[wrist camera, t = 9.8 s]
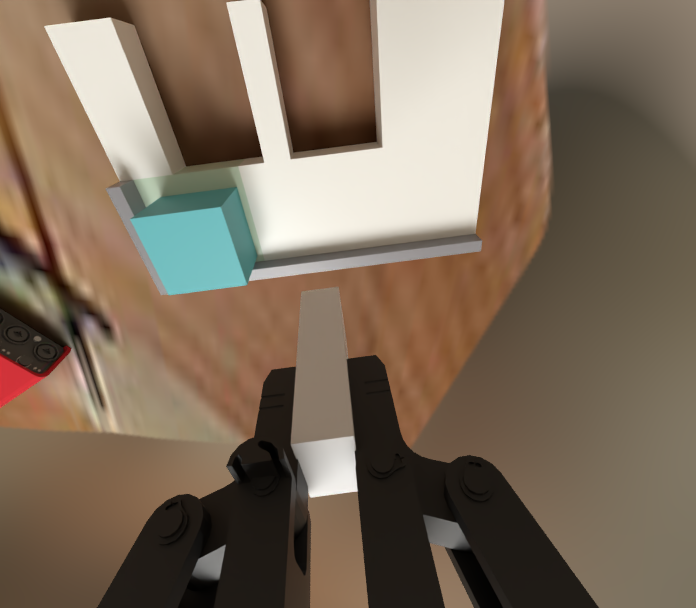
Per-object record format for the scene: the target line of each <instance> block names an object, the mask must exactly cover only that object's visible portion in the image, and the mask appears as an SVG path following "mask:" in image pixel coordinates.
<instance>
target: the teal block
mask: <svg viewBox="0 0 696 608" xmlns="http://www.w3.org/2000/svg"><path fill="white" fill-rule="evenodd" d="M130 220H131V222H132V224H133V226H134V228H135V230H136V232H137V234H138V236H139V238H140V240H141V242H142V244H143V246H144V248H145V250H146V252H147V254H148V256H149V258H150V260H151V261H152V263H153V265H154V267H155V269H156V271H157V273H158V275H159V277H160V279H161V281H162V283H163V285H164V287H165V289H166V291H167V293H168V295H175V294H183V293H190V292H198V291H206V290H213V289H221V288H228V287H236V286H244V285H247V284H248V281H249V278H250V275H251V273H252V270H253V267H254V264H255V262H256V259H257V253H256V249H255V246H254V243H253V239H252V236H251V232H250V229H249V226H248V222H247V219H246V216H245V212H244V209H243V205H242V202H241V199H240V195H239V192H238V189H237V187H232V188H225V189H217V190H210V191H202V192H195V193H187V194H179V195H172V196H164V197H160V198H159V199H157V200H156V201H155V202H153V203H152V204H150V205H149V206H147V207H146V208H145V209H143V210H142V211H140V212H139V213H138V214H136V215H135V216H133V217H132V218H131V219H130Z"/></svg>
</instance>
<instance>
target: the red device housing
mask: <svg viewBox="0 0 696 608" xmlns="http://www.w3.org/2000/svg"><path fill="white" fill-rule="evenodd" d="M70 351H71V348H70V347H68V346H65V347H61V346H59V345H58V344H56V343H55V342H53V341H51V340H50V339H48V338H46V337H45V336H43V335H42V334H40V333H38V332H37V331H35V330H34V329H32V328H30V327H29V326H27V325H26V324H24V323H22V322H21V321H19V320H18V319H16V318H14V317H13V316H11V315H10V314H8V313H6V312H5V311H3V310H2V309H0V408H1V407H2V406H4V405H5V404H7V403H8V402H10V401H11V400H12V399H14V398H15V397H17V396H18V395H20V394H21V393H23V392H24V391H26V390H27V389H29V388H30V387H32V386H33V385H34V384H36V383H37V382H39V381H40V380H42V379H43V378H45V377H46V376H48V375H49V374H50V373H51V372H52V371H53V370H54V369H55V368H56V367H57V365H58V364H59V363H60V362H61V361H62V360H63V359H64V358H65V357H66V356H67V355H68V354H69V353H70Z"/></svg>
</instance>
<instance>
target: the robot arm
mask: <svg viewBox="0 0 696 608" xmlns="http://www.w3.org/2000/svg"><path fill="white" fill-rule="evenodd" d="M261 397H262V399H261V401H260V407H259V409H260V411H259V413H258V418H257V424H256V430H255V436H254V438H251V439H248V440H247V441H245V442H244V443H242V444H241V445H239V446H238V448H237V449H236V450H235V451H234V452H233V453H232V455H231V456H230V459H229V462H228V464H227V466H226V467H227V468H228V470H229V471H230V473H231V475H232V476H233V478H234V479H235V480H234V481H233V482H232V483H231V484H229V485H227V486H226V487H224V488H222V489H220V490H217V491H215V492H213V493H211V494H209V495H207V496H205V497H203V498H201V499H198V498H197V497H195V496H192V495H190V494H184V495H177V496H175V497H173V498H171V499H169V500H167V501H165V502H164V503H163V504H162V505H161V506H160V507H158V508H157V509H156V510H155V511H154V513H153V514H152V516H151V517H150V518H149V519H148V521H147V522H146V524H145V526H144V527H143V529H142V531H141V533H140V534H139V536H138V538H137V540H136V541H135V543H134V545H133V547H132V548H131V550H130V552H129V553H128V555H127V557H126V559H125V560H124V562H123V564H122V566H121V567H120V569H119V571H118V572H117V574H116V576H115V578H114V579H113V581H112V583H111V585H110V587H109V588H108V590H107V592H106V593H105V595H104V597H103V598H102V600H101V602H100V604H99V605H98V607H97V608H310V550H311V548H310V547H311V521H310V514H309V511H308V492H309V495H310V497H317V496H326V495H333V494H341V493H348V492H356V491H358V500H359V511H360V521H361V532H362V542H363V553H364V563H365V574H366V583H367V593H368V605H369V608H445V606H444V602H443V597H442V593H441V589H440V585H439V581H438V577H437V572H436V568H435V564H434V560H433V556H432V552H431V547H430V543H432V544H436V545H440V546H444V547H445V549H446V551H447V553H448V555H449V557H450V559H451V561H452V563H453V565H454V567H455V569H456V571H457V573H458V575H459V578H460V580H461V582H462V584H463V586H464V588H465V590H466V592H467V594H468V596H469V598H470V600H471V602H472V604H473V607H474V608H599V607H598V606H597V605H596V603H595V602H594V600H593V599H592V598H591V596H590V595H589V593H588V592H587V591H586V589H585V588H584V587H583V585H582V584H581V582H580V581H579V580H578V578H577V577H576V576H575V574H574V573H573V572H572V570H571V569H570V567H569V566H568V564H567V563H566V562H565V560H564V559H563V558H562V556H561V555H560V553H559V552H558V551H557V549H556V548H555V547H554V545H553V544H552V542H551V541H550V540H549V538H548V537H547V536H546V534H545V533H544V531H543V530H542V529H541V527H540V526H539V525H538V523H537V522H536V521H535V519H534V518H533V516H532V515H531V513H530V512H529V511H528V509H527V508H526V507H525V505H524V504H523V502H522V501H521V500H520V498H519V497H518V496H517V494H516V493H515V491H514V490H513V489H512V487H511V486H510V485H509V483H508V482H507V481H506V479H505V478H504V476H503V475H502V473H501V472H500V471H499V470H498V469H497V468H496V467H495V466H494V465H493V464H491V463H490V462H488V461H486V460H484V459H483V458H481V457H476V456H471V455H468V456H462V457H458V458H457V459H455V460H454V461H452V462H451V463H446V462H441V461H436V460H431V459H428V458H425V457H421V456H419V455H418V454H416V453H414V452H413V451H412V450H411V449H410V448H409V447H408V446H407V445H406V443H405V442H404V440H403V438H402V435H401V433H400V428H399V424H398V420H397V416H396V411H395V407H394V403H393V398H392V394H391V390H390V386H389V381H388V377H387V373H386V369H385V365H384V364H383V363H382V362H381V360H380V359H379V358H378V357H377V356H376V355H373V356H365V357H358V358H350V359H348V352H347V343H346V335H345V328H344V321H343V314H342V307H341V301H340V294H339V287H334V288H326V289H318V290H311V291H303V292H301V304H300V319H299V333H298V347H297V361H296V367H289V368H281V369H274V370H271V372H270V373H269V375H268V377H267V378H266V380H265V381H264V384H263V389H262V395H261Z"/></svg>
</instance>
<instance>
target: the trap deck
mask: <svg viewBox="0 0 696 608" xmlns="http://www.w3.org/2000/svg"><path fill="white" fill-rule="evenodd" d="M227 7H228V11H229V15H230V20H231V24H232V28H233V32H234V36H235V41H236V45H237V49H238V53H239V58H240V62H241V66H242V70H243V74H244V79H245V83H246V87H247V91H248V96H249V100H250V104H251V108H252V113H253V117H254V121H255V125H256V129H257V134H258V138H259V142H260V146H261V151H262V155H263V157H255V158H247V159H240V160H232V161H224V162H216V163H209V164H201V165H193V166H186V165H185V162H184V159H183V157H182V154H181V151H180V148H179V146H178V143H177V140H176V137H175V135H174V132H173V129H172V127H171V124H170V121H169V118H168V116H167V113H166V110H165V108H164V105H163V102H162V99H161V97H160V94H159V91H158V89H157V86H156V83H155V80H154V78H153V75H152V72H151V69H150V67H149V64H148V61H147V59H146V56H145V53H144V50H143V48H142V45H141V42H140V40H139V37H138V34H137V31H136V29H135V26H134V25H132V24H129V23H126V22H123V21H120V20H117V19H113V18H103V19H95V20H88V21H80V22H72V23H64V24H57V25H49V26H44V27H45V29H46V31H47V33H48V35H49V37H50V39H51V41H52V43H53V45H54V47H55V49H56V52H57V54H58V56H59V58H60V60H61V62H62V64H63V66H64V68H65V70H66V72H67V74H68V76H69V78H70V80H71V82H72V84H73V86H74V88H75V90H76V92H77V94H78V96H79V99H80V101H81V103H82V105H83V107H84V109H85V111H86V113H87V115H88V117H89V119H90V121H91V123H92V125H93V127H94V129H95V131H96V133H97V135H98V137H99V139H100V141H101V144H102V146H103V148H104V150H105V152H106V154H107V156H108V158H109V160H110V162H111V164H112V166H113V168H114V170H115V172H116V174H117V176H118V178H119V180H120V182H118V183H116V184H114V185H112V186H110V187H108V188H106V190H107V192H108V194H109V196H110V198H111V200H112V202H113V204H114V206H115V208H116V210H117V211H118V213H119V215H120V217H121V219H122V221H123V223H124V225H125V227H126V229H127V231H128V233H129V235H130V236H131V238H132V240H133V242H134V244H135V246H136V248H137V250H138V252H139V254H140V256H141V258H142V260H143V261H144V263H145V265H146V267H147V269H148V271H149V273H150V275H151V277H152V279H153V281H154V283H155V285H156V286H157V288H158V290H159V292H160V294H161V295H165V294H168V293H167V291H166V289H165V287H164V285H163V283H162V281H161V279H160V277H159V275H158V273H157V271H156V269H155V267H154V265H153V263H152V261H151V260H150V258H149V256H148V254H147V252H146V250H145V248H144V246H143V244H142V242H141V240H140V238H139V236H138V234H137V232H136V230H135V228H134V226H133V224H132V222H131V220H130V219H131V218H132V217H133V216H135V215H136V214H138V213H139V212H140V211H142V210H143V209H145V208H146V207H147V206H149V205H150V204H152V203H153V202H155V201H156V200H157V199H159V198H160V197H164V196H172V195H179V194H187V193H195V192H202V191H210V190H217V189H225V188H232V187H237V189H238V192H239V195H240V199H241V202H242V205H243V209H244V212H245V216H246V219H247V222H248V226H249V229H250V232H251V236H252V239H253V243H254V246H255V249H256V253H257V259H256V262H255V264H254V267H253V270H252V273H251V275H250V278H249V281H252V280H260V279H268V278H275V277H283V276H291V275H299V274H307V273H314V272H322V271H330V270H338V269H345V268H353V267H361V266H369V265H377V264H384V263H392V262H400V261H408V260H415V259H423V258H431V257H439V256H447V255H454V254H462V253H470V252H478V251H481V245H482V240H481V239H480V238H479V237H478V236H477V235H476V234H475V232H476V224H477V216H478V208H479V200H480V192H481V184H482V176H483V168H484V160H485V152H486V144H487V136H488V128H489V120H490V112H491V104H492V96H493V88H494V80H495V72H496V64H497V56H498V48H499V40H500V32H501V24H502V16H503V8H504V0H370V15H371V35H372V55H373V75H374V95H375V115H376V135H377V142H372V143H364V144H356V145H348V146H341V147H333V148H325V149H317V150H310V151H302V152H294V153H293V148H292V142H291V137H290V132H289V126H288V121H287V116H286V110H285V105H284V99H283V94H282V89H281V83H280V78H279V73H278V67H277V62H276V56H275V51H274V46H273V40H272V35H271V29H270V24H269V19H268V13H267V8H266V7H265V5H264V4H263V2H262V1H261V0H242V1H235V2H227Z"/></svg>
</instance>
